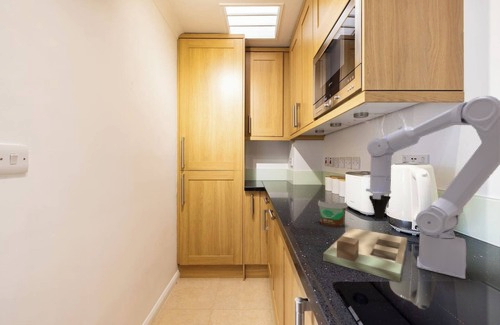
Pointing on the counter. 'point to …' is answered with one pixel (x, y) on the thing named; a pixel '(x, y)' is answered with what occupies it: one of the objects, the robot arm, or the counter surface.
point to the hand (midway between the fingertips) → (379, 218)
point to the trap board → (373, 254)
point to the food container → (332, 213)
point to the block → (347, 248)
